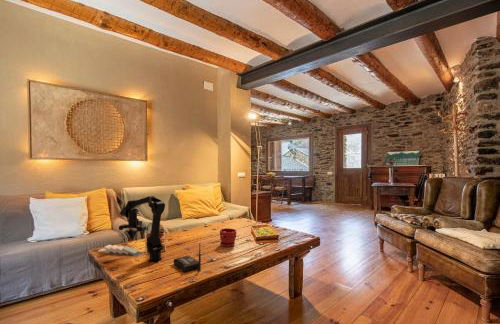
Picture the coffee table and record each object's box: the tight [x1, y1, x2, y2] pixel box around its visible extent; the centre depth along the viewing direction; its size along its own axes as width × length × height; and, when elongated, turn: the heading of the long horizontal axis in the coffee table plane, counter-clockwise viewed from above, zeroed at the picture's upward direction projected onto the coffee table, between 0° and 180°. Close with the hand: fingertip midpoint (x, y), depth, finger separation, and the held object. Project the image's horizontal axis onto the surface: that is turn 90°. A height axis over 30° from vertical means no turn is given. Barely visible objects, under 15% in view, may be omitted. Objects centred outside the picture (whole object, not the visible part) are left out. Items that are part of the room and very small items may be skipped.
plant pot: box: [219, 228, 237, 247], centre depth 200 cm, size 13×13×12 cm
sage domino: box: [122, 245, 140, 255], centre depth 179 cm, size 1×5×10 cm
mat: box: [105, 251, 145, 258], centre depth 180 cm, size 25×9×1 cm, turn 78°
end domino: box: [97, 247, 111, 254], centre depth 183 cm, size 1×5×10 cm
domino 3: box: [116, 245, 130, 255], centre depth 180 cm, size 1×5×10 cm
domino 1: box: [103, 244, 117, 253], centre depth 182 cm, size 1×5×10 cm
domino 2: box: [110, 244, 122, 254], centre depth 181 cm, size 1×5×10 cm
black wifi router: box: [173, 243, 202, 274], centre depth 157 cm, size 20×14×17 cm
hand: (132, 239), depth 178 cm, fingers closed
